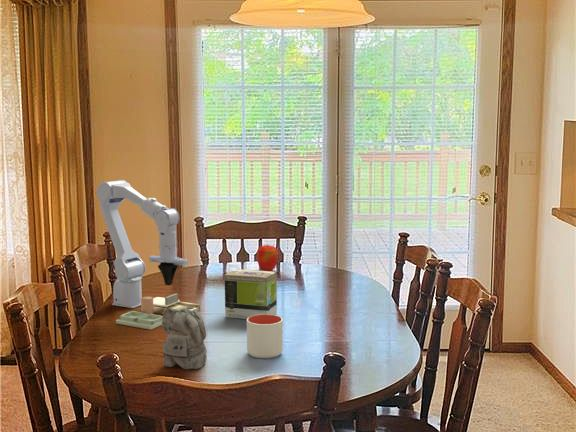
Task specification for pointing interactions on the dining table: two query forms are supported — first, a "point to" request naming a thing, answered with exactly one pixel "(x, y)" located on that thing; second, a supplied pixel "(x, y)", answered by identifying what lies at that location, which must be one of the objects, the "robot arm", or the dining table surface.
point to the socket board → (140, 320)
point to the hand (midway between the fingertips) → (168, 284)
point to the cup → (264, 336)
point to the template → (178, 307)
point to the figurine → (184, 338)
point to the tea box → (250, 293)
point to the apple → (267, 257)
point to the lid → (166, 300)
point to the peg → (147, 305)
